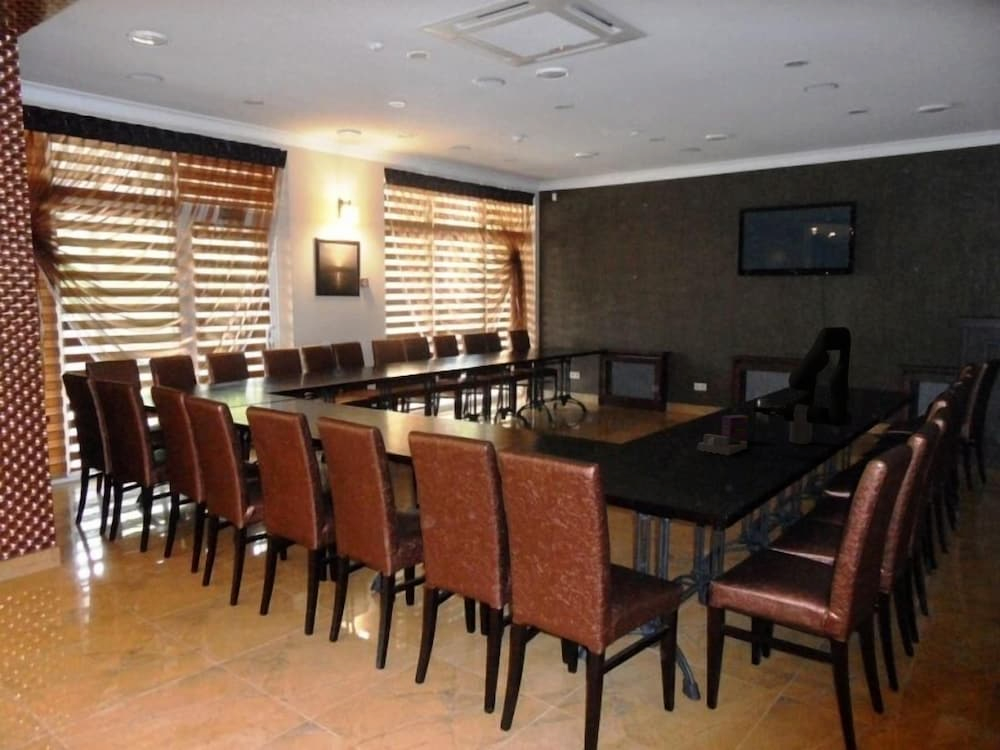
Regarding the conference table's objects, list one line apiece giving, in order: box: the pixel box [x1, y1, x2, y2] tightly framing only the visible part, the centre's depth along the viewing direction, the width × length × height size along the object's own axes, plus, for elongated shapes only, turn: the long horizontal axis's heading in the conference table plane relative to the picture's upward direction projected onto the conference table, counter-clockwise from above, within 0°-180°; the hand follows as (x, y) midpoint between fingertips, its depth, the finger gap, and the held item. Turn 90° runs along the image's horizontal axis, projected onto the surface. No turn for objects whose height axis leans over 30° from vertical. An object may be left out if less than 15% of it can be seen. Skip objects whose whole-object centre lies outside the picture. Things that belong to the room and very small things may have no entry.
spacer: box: [755, 398, 771, 425], centre depth 303 cm, size 5×5×10 cm
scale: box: [697, 433, 748, 456], centre depth 311 cm, size 19×14×7 cm
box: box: [721, 414, 749, 443], centre depth 328 cm, size 10×6×12 cm, turn 112°
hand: (756, 408), depth 305 cm, fingers closed on spacer, 5 cm apart
